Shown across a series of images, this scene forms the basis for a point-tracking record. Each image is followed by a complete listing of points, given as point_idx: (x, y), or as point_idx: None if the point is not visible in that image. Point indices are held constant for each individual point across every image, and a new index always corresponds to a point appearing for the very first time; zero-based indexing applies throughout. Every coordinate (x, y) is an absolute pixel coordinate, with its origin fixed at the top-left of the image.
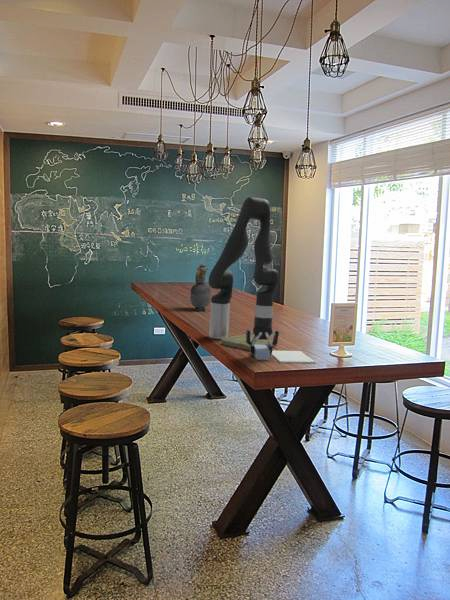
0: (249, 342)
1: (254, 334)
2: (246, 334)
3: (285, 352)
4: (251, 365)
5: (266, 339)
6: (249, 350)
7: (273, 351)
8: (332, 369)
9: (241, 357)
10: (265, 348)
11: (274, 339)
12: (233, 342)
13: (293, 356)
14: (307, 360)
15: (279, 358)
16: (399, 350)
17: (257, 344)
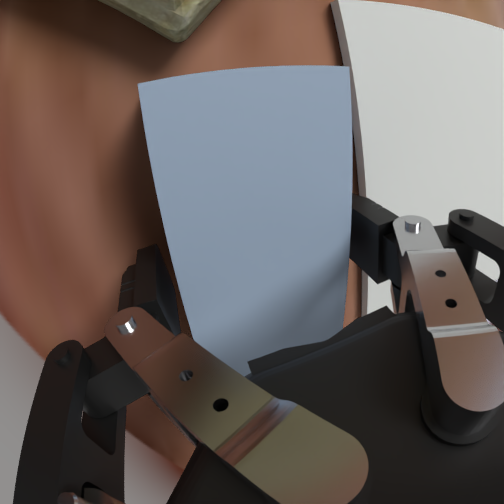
0: (115, 416)
1: (185, 480)
2: (34, 487)
3: (461, 75)
4: (188, 447)
5: (407, 265)
6: (106, 3)
7: (385, 40)
8: (496, 327)
9: (72, 333)
10: (319, 284)
11: (492, 250)
12: None
13: (476, 195)
14: (493, 264)
15: (383, 291)
16: None
17: None
